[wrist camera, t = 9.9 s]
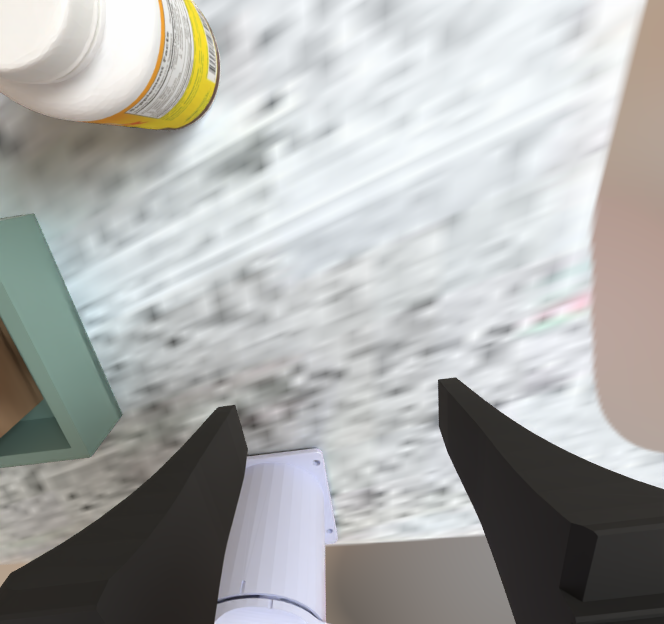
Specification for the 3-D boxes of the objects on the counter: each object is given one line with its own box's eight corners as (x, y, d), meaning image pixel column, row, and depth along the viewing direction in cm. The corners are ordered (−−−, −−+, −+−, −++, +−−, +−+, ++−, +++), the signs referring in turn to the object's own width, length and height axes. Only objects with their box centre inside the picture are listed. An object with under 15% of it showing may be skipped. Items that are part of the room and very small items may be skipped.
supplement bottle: (73, 65, 17) (-246, -44, 7) (142, -51, 15) (-150, -379, 6) (179, 158, 18) (30, 167, 9) (250, 62, 17) (161, -50, 7)
